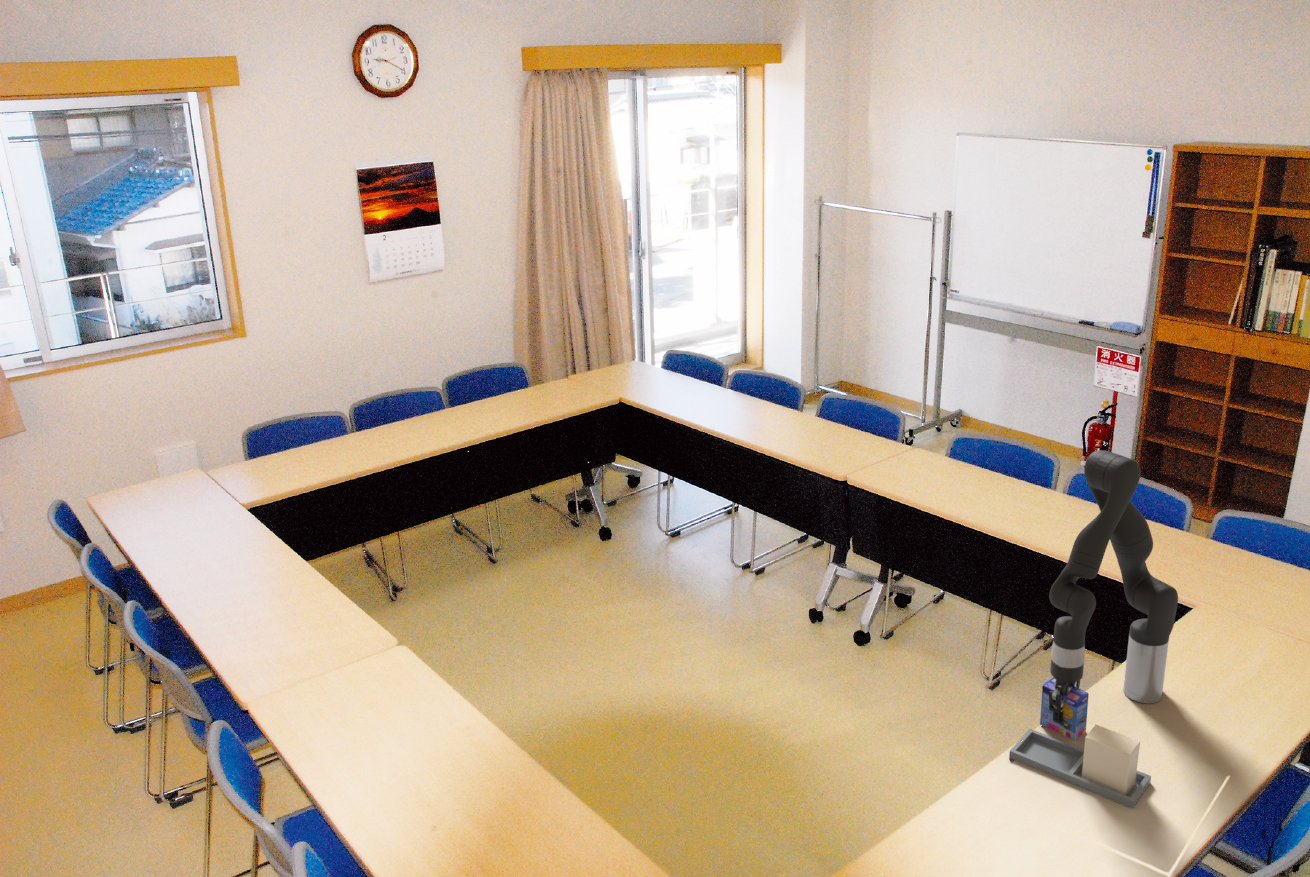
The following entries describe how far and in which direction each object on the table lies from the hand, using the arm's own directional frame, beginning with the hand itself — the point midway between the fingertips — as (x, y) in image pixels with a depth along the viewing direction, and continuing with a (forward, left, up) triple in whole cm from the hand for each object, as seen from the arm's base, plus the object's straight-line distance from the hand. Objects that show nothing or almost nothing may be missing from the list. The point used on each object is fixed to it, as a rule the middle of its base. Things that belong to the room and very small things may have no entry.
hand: (1062, 715), depth 260 cm
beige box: (+13, +16, -4) cm, 21 cm away
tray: (+13, +9, -4) cm, 17 cm away
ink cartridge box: (0, 0, -4) cm, 4 cm away
